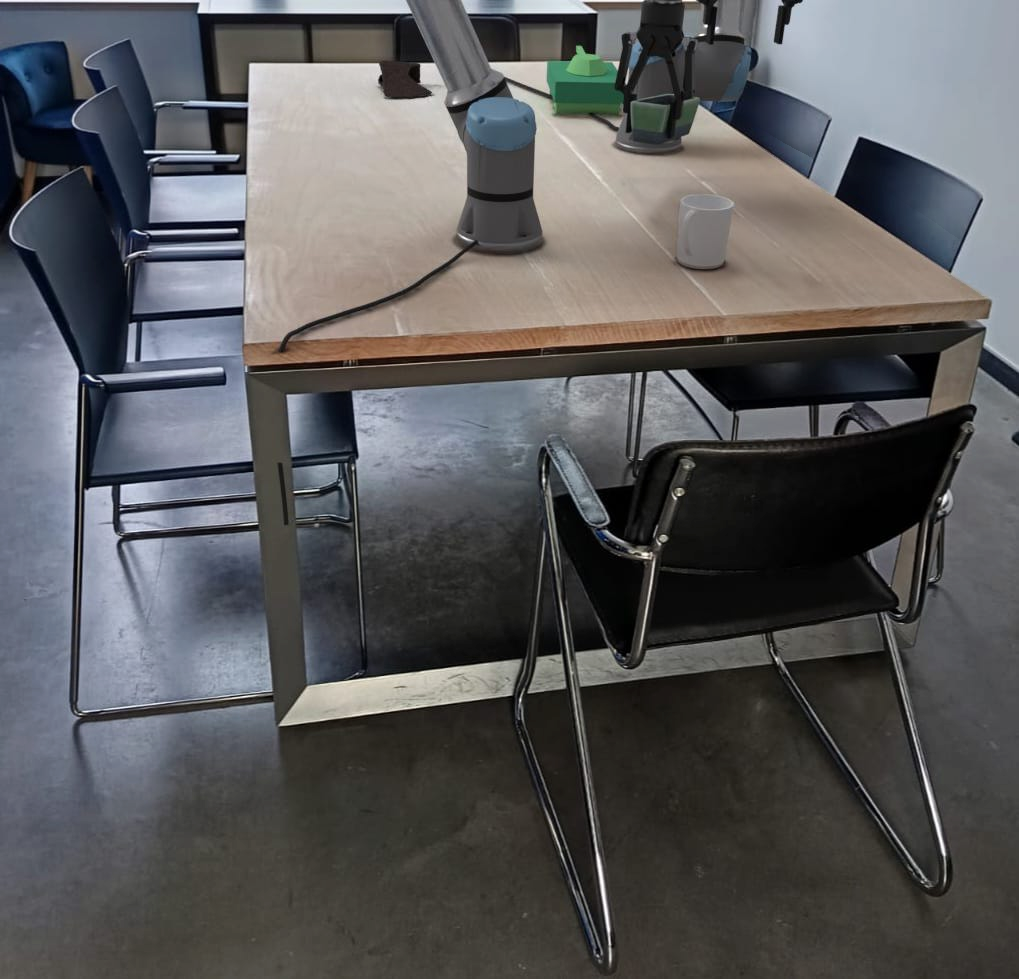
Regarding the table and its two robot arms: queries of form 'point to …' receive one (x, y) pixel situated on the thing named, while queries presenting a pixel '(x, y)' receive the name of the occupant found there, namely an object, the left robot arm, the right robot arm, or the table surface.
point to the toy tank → (584, 85)
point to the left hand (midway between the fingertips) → (649, 134)
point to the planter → (660, 119)
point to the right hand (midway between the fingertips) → (743, 43)
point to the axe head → (401, 79)
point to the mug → (703, 230)
